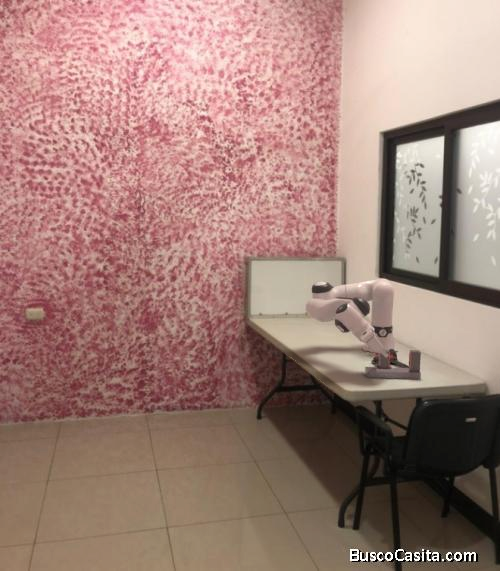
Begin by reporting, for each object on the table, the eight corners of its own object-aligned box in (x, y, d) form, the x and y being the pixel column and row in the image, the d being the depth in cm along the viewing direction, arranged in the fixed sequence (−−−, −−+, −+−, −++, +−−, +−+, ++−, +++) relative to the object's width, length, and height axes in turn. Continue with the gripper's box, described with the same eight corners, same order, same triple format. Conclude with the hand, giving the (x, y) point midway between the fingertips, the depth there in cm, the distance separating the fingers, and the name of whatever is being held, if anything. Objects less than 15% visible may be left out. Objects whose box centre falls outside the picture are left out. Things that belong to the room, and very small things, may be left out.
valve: (362, 363, 308) (386, 356, 314) (392, 379, 285) (418, 371, 290) (361, 351, 307) (386, 345, 312) (391, 366, 283) (417, 359, 289)
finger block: (378, 368, 279) (379, 349, 278) (387, 368, 279) (388, 349, 278) (379, 370, 275) (380, 351, 274) (389, 370, 275) (390, 351, 274)
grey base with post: (364, 373, 282) (365, 347, 280) (416, 374, 280) (418, 349, 279) (366, 377, 274) (367, 351, 273) (420, 379, 272) (421, 353, 271)
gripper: (357, 332, 286) (377, 353, 287) (362, 341, 266) (383, 364, 267) (367, 323, 285) (387, 344, 286) (373, 332, 265) (394, 354, 266)
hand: (385, 353), depth 276 cm, fingers open, 8 cm apart
